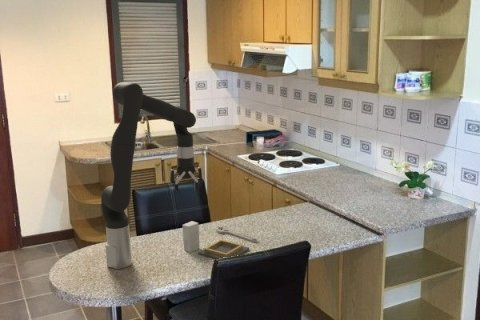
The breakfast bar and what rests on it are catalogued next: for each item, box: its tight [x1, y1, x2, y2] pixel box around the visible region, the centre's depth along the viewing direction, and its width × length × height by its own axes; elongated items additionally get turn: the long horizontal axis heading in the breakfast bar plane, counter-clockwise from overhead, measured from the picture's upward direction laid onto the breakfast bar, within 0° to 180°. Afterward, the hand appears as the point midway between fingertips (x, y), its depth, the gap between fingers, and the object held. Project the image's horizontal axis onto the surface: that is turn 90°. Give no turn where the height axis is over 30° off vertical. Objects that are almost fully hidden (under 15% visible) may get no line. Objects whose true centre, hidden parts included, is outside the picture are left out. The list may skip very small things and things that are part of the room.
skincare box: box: [182, 220, 200, 253], centre depth 228 cm, size 6×4×12 cm
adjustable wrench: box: [215, 225, 258, 244], centre depth 244 cm, size 25×6×2 cm, turn 43°
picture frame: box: [197, 239, 250, 260], centre depth 226 cm, size 16×16×2 cm
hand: (186, 190), depth 235 cm, fingers open, 8 cm apart
